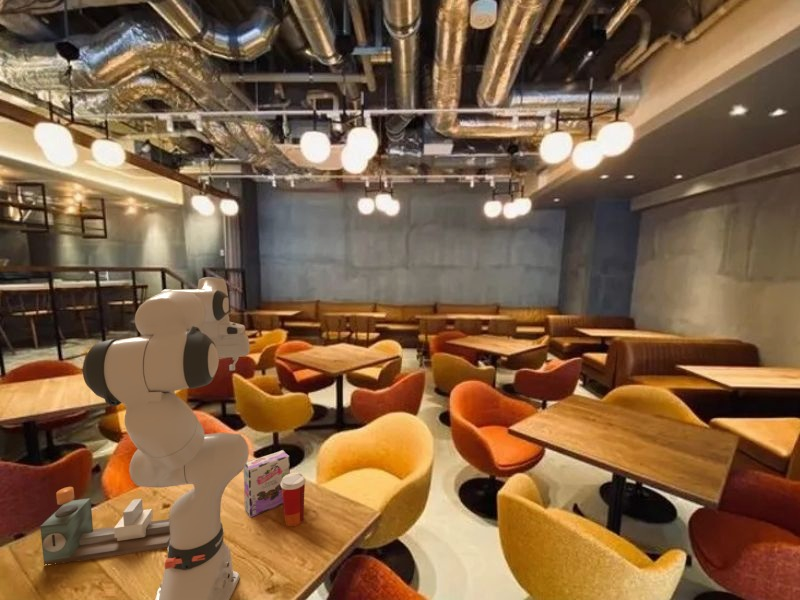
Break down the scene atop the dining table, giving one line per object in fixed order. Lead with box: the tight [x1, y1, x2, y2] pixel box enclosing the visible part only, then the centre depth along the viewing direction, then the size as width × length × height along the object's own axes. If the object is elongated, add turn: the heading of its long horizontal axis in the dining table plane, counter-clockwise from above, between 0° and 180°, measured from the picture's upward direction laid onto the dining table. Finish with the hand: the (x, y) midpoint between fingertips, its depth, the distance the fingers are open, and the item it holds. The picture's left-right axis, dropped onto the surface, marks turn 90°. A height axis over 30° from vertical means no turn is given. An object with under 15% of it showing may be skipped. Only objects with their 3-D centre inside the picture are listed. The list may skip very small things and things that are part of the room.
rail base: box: [39, 497, 170, 566], centre depth 108 cm, size 12×30×12 cm, turn 103°
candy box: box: [243, 449, 291, 518], centre depth 125 cm, size 14×6×16 cm, turn 129°
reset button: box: [55, 486, 75, 506], centre depth 105 cm, size 4×4×3 cm
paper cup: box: [280, 472, 307, 527], centre depth 117 cm, size 8×8×14 cm
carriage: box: [113, 498, 154, 541], centre depth 109 cm, size 7×7×9 cm
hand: (216, 371), depth 119 cm, fingers open, 8 cm apart
